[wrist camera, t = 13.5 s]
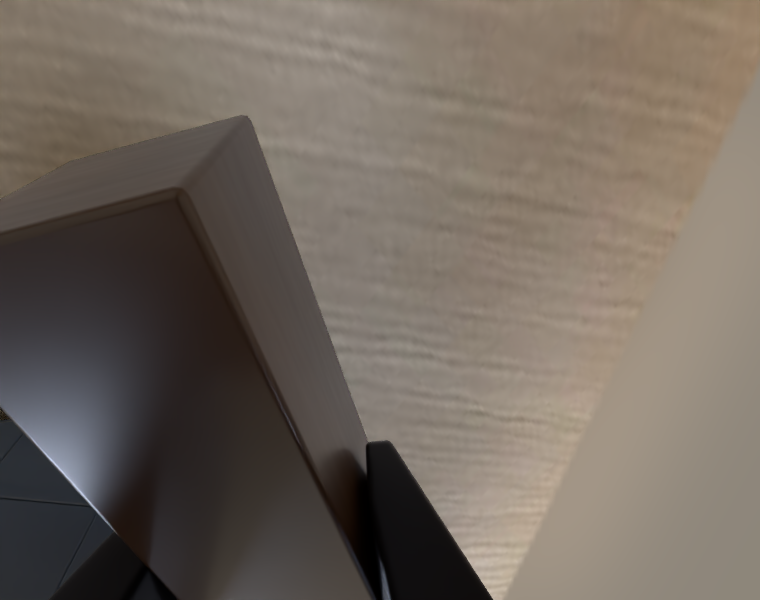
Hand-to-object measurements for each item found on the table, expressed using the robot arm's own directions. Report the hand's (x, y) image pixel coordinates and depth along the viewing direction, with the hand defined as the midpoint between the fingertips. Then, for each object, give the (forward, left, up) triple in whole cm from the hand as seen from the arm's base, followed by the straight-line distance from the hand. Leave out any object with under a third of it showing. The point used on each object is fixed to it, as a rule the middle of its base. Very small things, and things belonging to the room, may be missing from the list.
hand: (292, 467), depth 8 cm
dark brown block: (0, -1, -1) cm, 1 cm away
